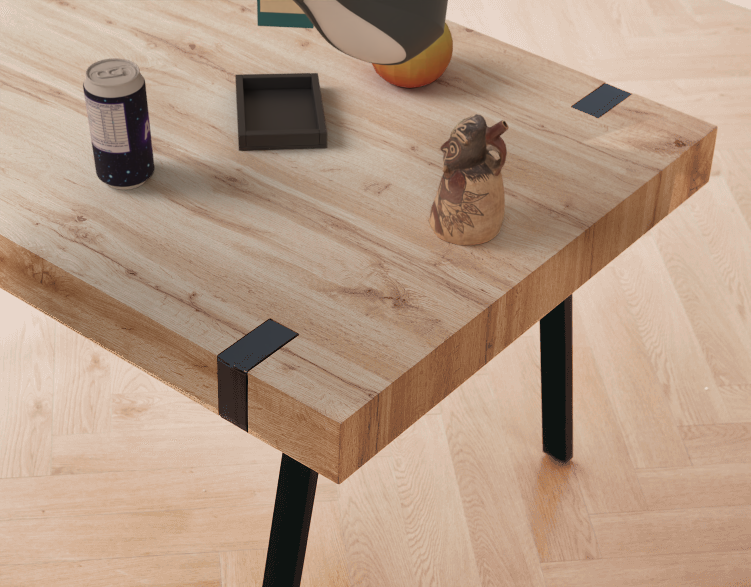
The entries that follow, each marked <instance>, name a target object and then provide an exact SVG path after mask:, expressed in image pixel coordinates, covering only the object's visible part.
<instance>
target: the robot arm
mask: <svg viewBox="0 0 751 587" xmlns="http://www.w3.org/2000/svg"><path fill="white" fill-rule="evenodd" d="M293 1H294V2H295V3H296V4H297V5H298V6H299V7H300V8H301V9H302V11H303V12H304V13H305V14H306V16H307V17H308V18H309V20H310V21H311V22H312V24H313V25H314V28H315V29H316V31H317V32H318V33H319V35H320V36H321V37H322V38H323V39H324V40H325V41H326V42H327V43H328V44H329V45H330V46H332V47H333V49H336V50H337V51H339V52H341V53H343V54H345V55H347V56H349V57H351V58H354V59H357V60H359V61H362V62H365V63H369V64H372V63H373V64H379V65H399V64H403V63H405V62H407V61H409V60H410V59H412V58H414V57H416V56H417V55H419V54H420V53H421V52H423V51H424V50H426V49H427V48H428V47H429V46H431V45H432V44H433V43H434V42H435V41H436V40H437V39H438V38H439V37H441V36H442V35H443V33H444V27H445V23H446V18H447V11H448V4H449V3H448V2H449V0H293Z"/></svg>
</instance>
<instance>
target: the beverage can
mask: <svg viewBox="0 0 751 587" xmlns="http://www.w3.org/2000/svg"><path fill="white" fill-rule="evenodd" d="M82 83H83V84H82V89H83V95H84V102H85V109H86V115H87V121H88V122H87V123H88V128H89V135H90V141H91V147H92V153H93V160H94V168H95V173H96V177H97V178H98V179H99V180H100V181H101V182H102V183H104V184H105V185H108V186H109V187H111V188H113V189H116V190H121V191H122V190H123V191H125V190H133V189H136V188H139V187H141V186H142V185H143V184H145V183H146V182H147V181H148V180H149V179H150V178H151V177H152V176H153V174H154V173H155V158H154V150H153V141H152V132H151V122H150V114H149V104H148V95H147V85H146V80H145V77H144V76H143V74H142V72H140V67H139V66H138V64H137V63H135V62H134V61H133V60H130V59H125V58H119V57H118V58H117V57H112V58H104V59H100V60H97V61H95V62H93V63H92V64H90V65H89V66H88V67H87V68H86V70H85V78H84V80H83V82H82Z"/></svg>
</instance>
